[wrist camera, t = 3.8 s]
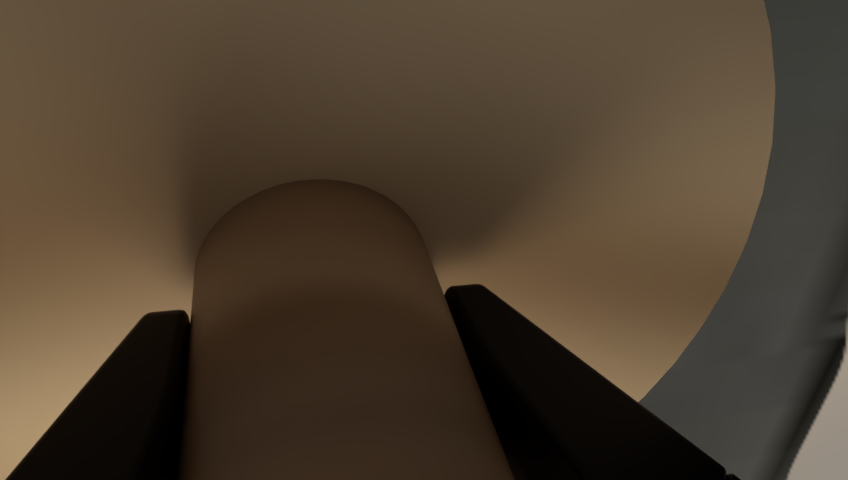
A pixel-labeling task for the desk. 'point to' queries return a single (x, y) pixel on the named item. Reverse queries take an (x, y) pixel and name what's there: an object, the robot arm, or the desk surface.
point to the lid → (365, 207)
